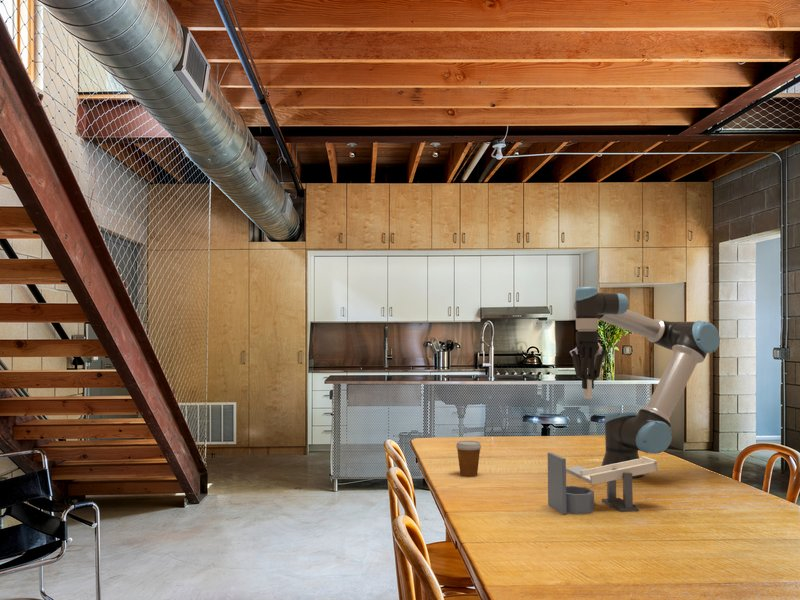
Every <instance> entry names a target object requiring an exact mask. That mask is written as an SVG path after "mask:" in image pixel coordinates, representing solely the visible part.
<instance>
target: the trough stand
mask: <svg viewBox="0 0 800 600" xmlns="http://www.w3.org/2000/svg"><path fill="white" fill-rule="evenodd" d="M606 487H607V488H606V494H607V495H606V498H601V503H603V504H605V505H607V506H608V505H609V507H610V508H612V507H613V509H614V510H616V511H618V512H621V513H622V512H623V513H624V512H639V511H640V508H639V506H637V505H635V504H633V502H634V501H633V500H634V497H633V478H632V473H623V478H622V498H620V497H617V480H612V481H608V482H606Z"/></svg>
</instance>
